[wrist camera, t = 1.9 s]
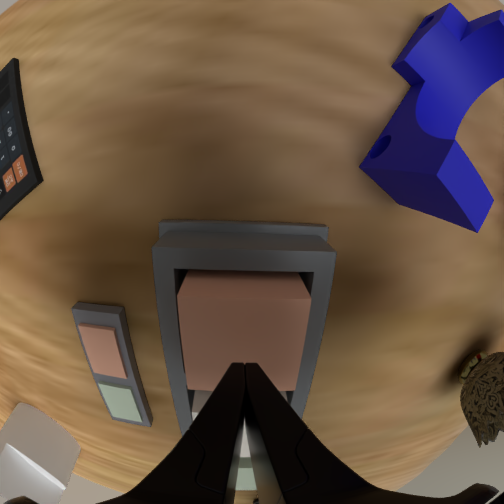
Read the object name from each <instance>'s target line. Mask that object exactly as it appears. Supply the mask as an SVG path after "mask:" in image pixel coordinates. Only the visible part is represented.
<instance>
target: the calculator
mask: <svg viewBox="0 0 504 504" xmlns="http://www.w3.org/2000/svg"><path fill="white" fill-rule="evenodd" d="M42 182H43V178H42V175H41V171H40V168H39V165H38V162H37V158H36V155H35V151H34V147H33V143H32V139H31V135H30V131H29V127H28V122H27V117H26V112H25V107H24V101H23V95H22V88H21V80H20V71H19V59H16V58H13V59H12V60H11V61H10V62H9V63H8V64H7V65H6V66H5V67H4V68H3V69H2V70H1V71H0V220H1V219H2V218H3V217H4V216H5V215H6V214H7V213H8V212H9V211H10V210H11V209H12V208H13V207H14V206H16V205H17V204H18V203H19V202H20V201H21V200H22V199H23V198H24V197H25V196H26V195H28V194H29V193H30V192H31V191H32V190H33V189H34V188H36V187H37V186H38V185H39V184H40V183H42Z"/></svg>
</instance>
